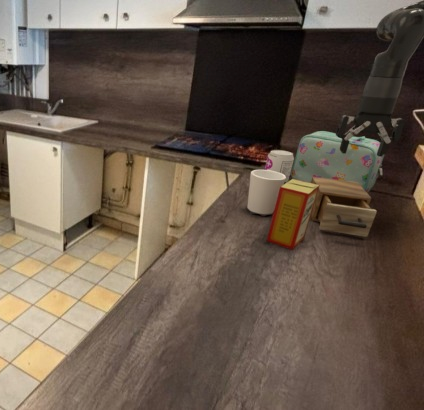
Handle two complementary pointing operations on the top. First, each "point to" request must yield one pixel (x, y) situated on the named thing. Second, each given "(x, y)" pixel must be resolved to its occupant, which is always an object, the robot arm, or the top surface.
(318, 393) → the top surface
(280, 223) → the baking soda box
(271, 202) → the cup
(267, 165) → the supplement can
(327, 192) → the cabinet
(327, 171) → the lunch box
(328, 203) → the drawer
